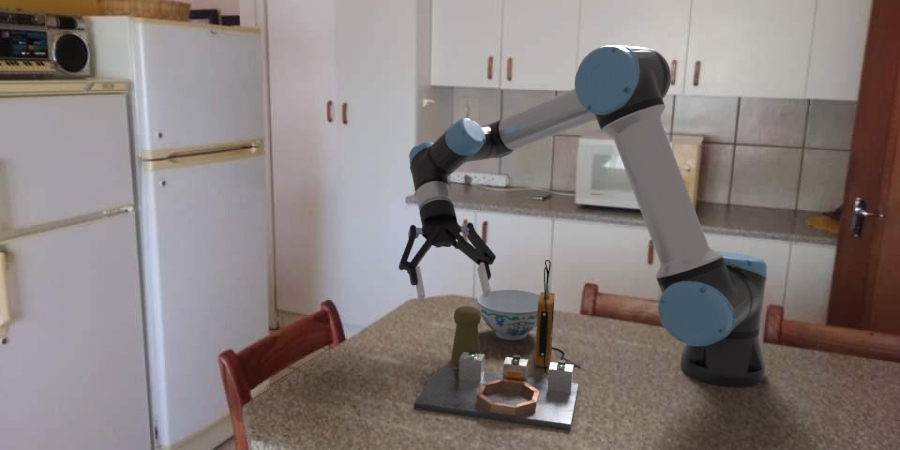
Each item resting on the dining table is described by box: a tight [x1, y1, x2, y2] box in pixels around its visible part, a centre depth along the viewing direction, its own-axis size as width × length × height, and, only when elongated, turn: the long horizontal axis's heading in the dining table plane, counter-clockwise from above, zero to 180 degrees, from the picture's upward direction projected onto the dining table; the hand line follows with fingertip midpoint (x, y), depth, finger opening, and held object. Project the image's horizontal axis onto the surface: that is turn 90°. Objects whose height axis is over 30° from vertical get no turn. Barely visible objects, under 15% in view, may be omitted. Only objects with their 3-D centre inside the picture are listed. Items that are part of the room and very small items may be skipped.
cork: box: [450, 305, 482, 368], centre depth 139 cm, size 6×6×11 cm
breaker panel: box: [413, 350, 579, 431], centre depth 124 cm, size 26×16×6 cm, turn 76°
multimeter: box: [534, 259, 588, 376], centre depth 138 cm, size 15×10×20 cm
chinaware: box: [476, 289, 540, 341], centre depth 154 cm, size 15×15×8 cm
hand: (455, 296), depth 143 cm, fingers open, 13 cm apart
